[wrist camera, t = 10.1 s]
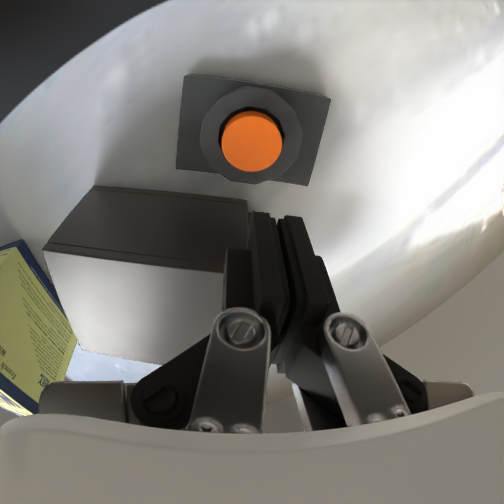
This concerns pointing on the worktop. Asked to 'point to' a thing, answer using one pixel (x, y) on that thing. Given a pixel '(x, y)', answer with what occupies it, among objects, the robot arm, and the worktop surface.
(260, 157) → the button
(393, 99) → the worktop surface
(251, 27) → the worktop surface
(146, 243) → the dark grey cabinet
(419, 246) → the worktop surface
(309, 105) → the block
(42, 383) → the protein box
